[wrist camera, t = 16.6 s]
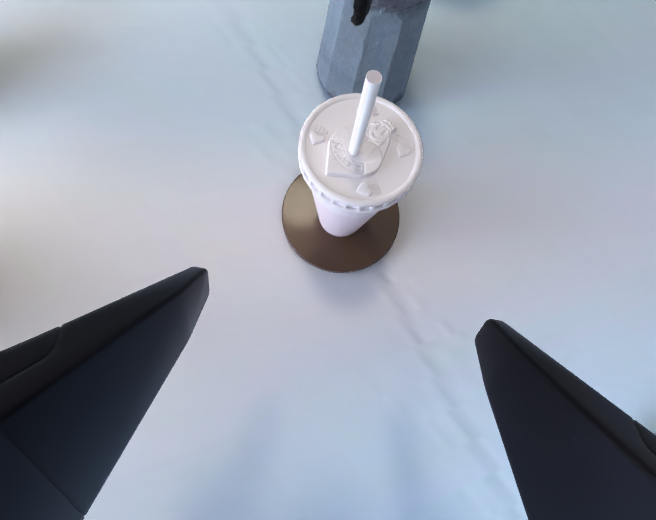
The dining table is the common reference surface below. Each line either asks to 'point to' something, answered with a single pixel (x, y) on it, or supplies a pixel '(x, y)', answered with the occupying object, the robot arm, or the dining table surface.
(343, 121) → the smoothie
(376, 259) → the disc
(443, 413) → the dining table surface
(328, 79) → the moka pot
